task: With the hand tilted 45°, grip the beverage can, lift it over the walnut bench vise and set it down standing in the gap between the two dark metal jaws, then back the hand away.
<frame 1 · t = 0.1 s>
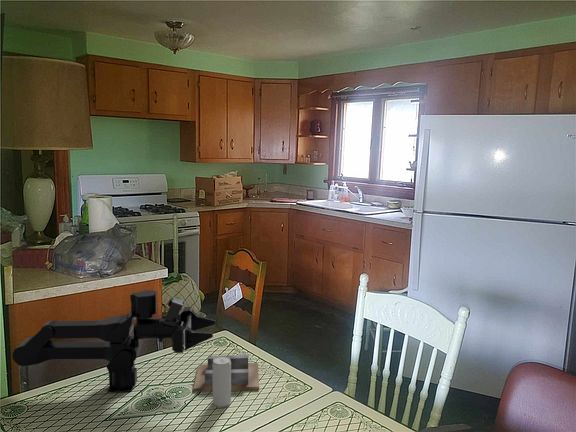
hand: (214, 328, 129), 17 cm above the table, tool horizontal, fingers open, 9 cm apart
vise: (227, 378, 135), on the table
beverage can: (221, 403, 122), on the table
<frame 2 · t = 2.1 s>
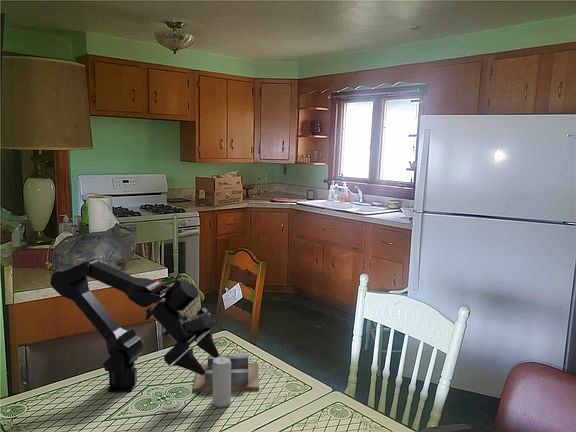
hand: (211, 365, 122), 10 cm above the table, tool tilted 45°, fingers open, 9 cm apart
nothing on the table moved.
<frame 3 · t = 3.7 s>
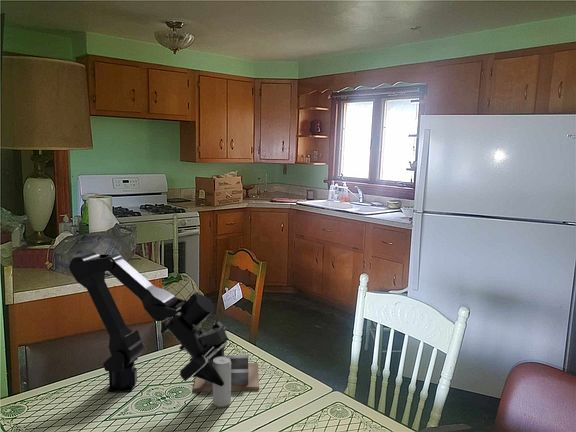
hand: (226, 380, 121), 7 cm above the table, tool tilted 45°, fingers closed on beverage can, 5 cm apart
beverage can: (221, 403, 122), on the table, touching gripper
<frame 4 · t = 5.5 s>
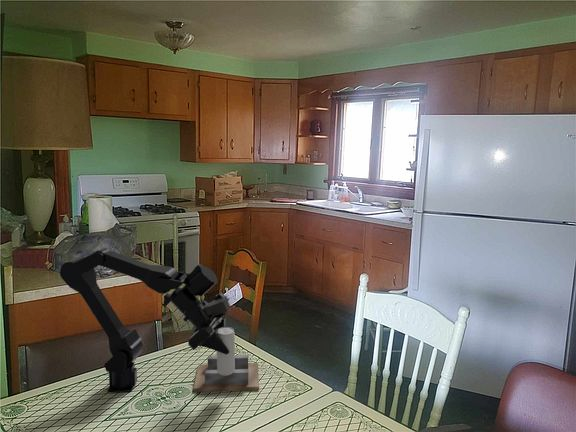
hand: (230, 349, 124), 13 cm above the table, tool tilted 45°, fingers closed on beverage can, 5 cm apart
beverage can: (225, 372, 126), point 6 cm above the table, touching gripper
when the fingers open (9 cm above the table, at t = 7.5 s): beverage can stays where it is, resting on vise.
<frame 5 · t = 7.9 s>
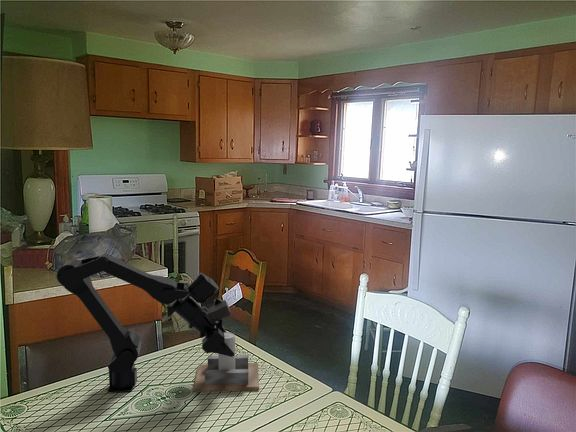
hand: (232, 348, 134), 9 cm above the table, tool tilted 45°, fingers open, 9 cm apart
beverage can: (226, 374, 136), point 1 cm above the table, touching vise
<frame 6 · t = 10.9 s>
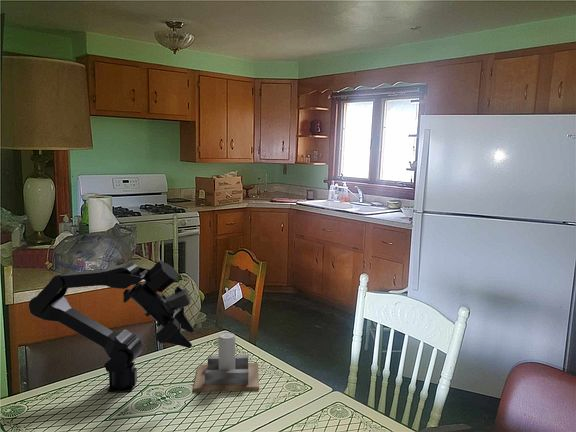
hand: (192, 338, 129), 14 cm above the table, tool tilted 45°, fingers open, 9 cm apart
nothing on the table moved.
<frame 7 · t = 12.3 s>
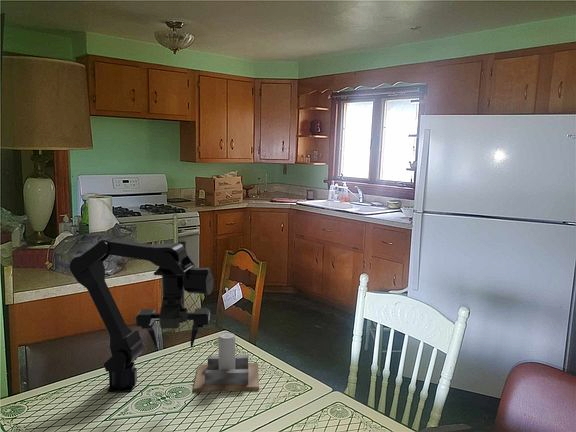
hand: (174, 347, 125), 13 cm above the table, tool pointing down, fingers open, 9 cm apart
nothing on the table moved.
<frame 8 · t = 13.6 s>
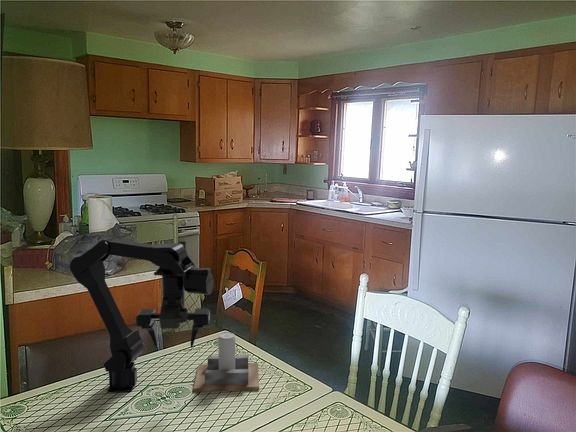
hand: (174, 347, 125), 13 cm above the table, tool pointing down, fingers open, 9 cm apart
nothing on the table moved.
at the end: beverage can inside the target area on the vise (0.5 cm from its centre), point 0.8 cm above the vise's base; beverage can tilted 0°; the gripper is holding nothing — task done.
